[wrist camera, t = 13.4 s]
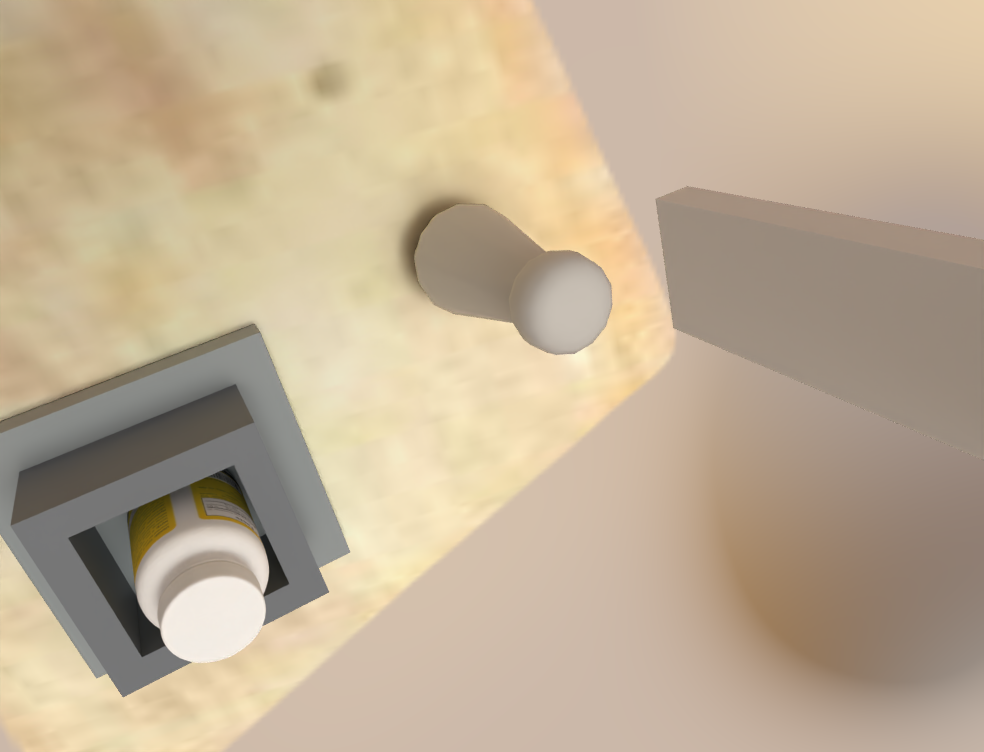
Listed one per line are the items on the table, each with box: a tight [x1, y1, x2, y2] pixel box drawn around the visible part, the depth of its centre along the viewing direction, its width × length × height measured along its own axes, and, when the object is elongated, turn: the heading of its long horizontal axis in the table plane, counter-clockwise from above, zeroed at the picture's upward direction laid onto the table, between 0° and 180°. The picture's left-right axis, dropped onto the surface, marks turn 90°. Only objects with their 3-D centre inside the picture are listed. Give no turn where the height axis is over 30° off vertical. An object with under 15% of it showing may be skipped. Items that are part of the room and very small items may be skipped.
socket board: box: [0, 324, 350, 697], centre depth 37 cm, size 14×14×6 cm
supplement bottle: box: [127, 469, 269, 663], centre depth 35 cm, size 5×5×10 cm
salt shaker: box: [414, 204, 612, 355], centre depth 37 cm, size 6×6×13 cm
